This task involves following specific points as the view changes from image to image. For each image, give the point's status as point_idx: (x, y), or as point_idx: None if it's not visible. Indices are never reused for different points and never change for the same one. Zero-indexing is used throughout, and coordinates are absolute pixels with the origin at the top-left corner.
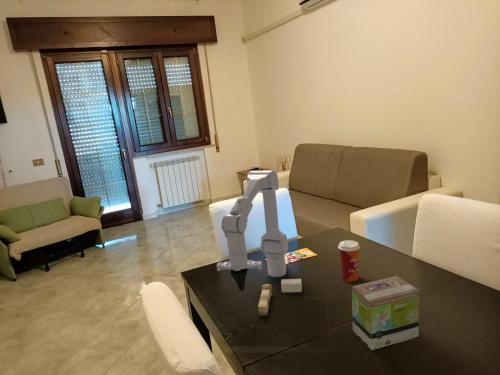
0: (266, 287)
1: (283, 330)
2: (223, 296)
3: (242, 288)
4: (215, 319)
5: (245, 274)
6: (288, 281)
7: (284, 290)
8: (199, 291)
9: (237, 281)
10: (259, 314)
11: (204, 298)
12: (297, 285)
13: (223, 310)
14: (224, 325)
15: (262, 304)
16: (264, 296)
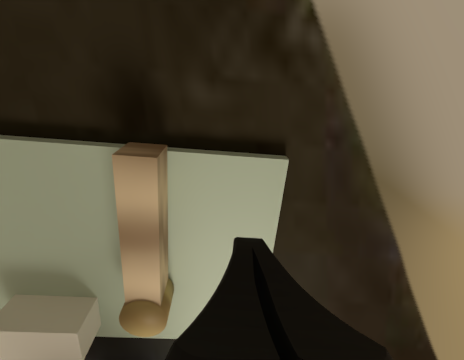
0: (141, 312)
1: (38, 35)
2: (329, 296)
3: (240, 245)
4: (363, 152)
5: (174, 354)
6: (45, 346)
7: (80, 304)
8: (417, 329)
9: (286, 287)
10: (163, 145)
11: (401, 290)
12: (6, 322)
13: (328, 211)
14: (323, 103)
15: (136, 180)
16: (139, 247)
